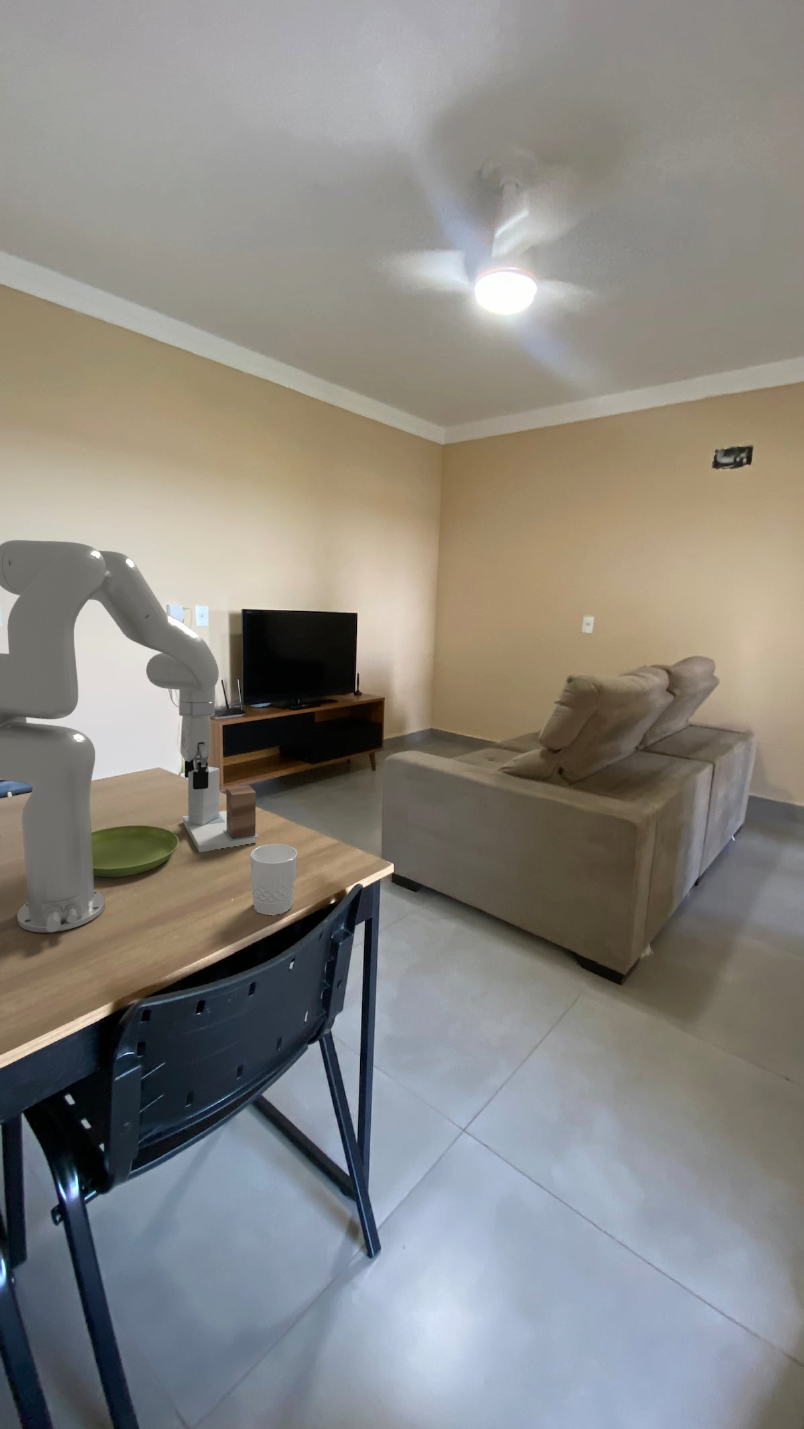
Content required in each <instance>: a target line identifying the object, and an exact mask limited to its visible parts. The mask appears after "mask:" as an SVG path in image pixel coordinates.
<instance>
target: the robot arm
mask: <svg viewBox="0 0 804 1429" xmlns="http://www.w3.org/2000/svg"><path fill="white" fill-rule="evenodd" d="M0 587H1V588H2V589H3V590H5V591H7V592H9V593H11V594H13V595H17V596H18V598H17V599H16V601H15V602H14V604H13V605H12V607H11V610H10V612H9V614H8V615H9V616H8V618H7V642H8V643H7V645H8V653H1V652H0V781H7V782H14V783H20V784H26V785H31V786H32V791H31V793H30V794H29V796H28V798H27V800H26V801H25V804H24V806H23V808H22V809H23V810H22V813H21V826H22V827H21V828H22V840H23V841H22V842H23V854H24V866H25V867H24V869H25V880H26V881H25V882H26V896H27V897H26V898H27V902H26V903H24V904H23V905H22V906H21V907H20V908H19V910H18V911H17V915H16V919H17V920H16V921H17V924H18V926H19V927H21V928H22V929H24V930H26V931H29V932H34V933H42V934H43V933H56V932H62V931H66V930H67V931H68V930H72V929H75V928H78V927H80V926H82V925H86V924H87V923H89V922H91V921H93V920H94V919H95V918H97V917H99V915H100V914H101V913H102V912H103V911H104V910H105V906H106V899H105V896H104V895H103V894H102V893H101V892H100V891H97V890H95V881H94V875H93V854H92V832H93V831H92V817H91V816H92V815H91V790H92V789H91V788H92V787H91V786H92V781H93V773H94V768H95V765H96V764H95V762H96V750H95V745H94V744H93V742H92V740H91V739H90V738H89V737H88V736H87V735H86V734H84V733H83V732H81V731H79V730H76V729H73V728H71V727H66V726H60V725H53V724H52V725H51V724H43V723H34V722H27V718H29V719H38V720H39V719H40V720H58V719H63V718H67V717H68V716H70V715H71V714H72V713H73V712H74V711H75V710H76V708H77V705H78V703H79V702H78V701H79V684H78V683H79V681H78V680H79V679H78V673H77V672H78V669H77V659H76V648H75V626H76V622H77V618H78V616H79V614H80V612H81V611H82V609H83V608H84V606H85V604H87V602H88V601H89V600H92V601H97V602H99V603H100V604H102V606H103V608H104V609H105V610H106V612H108V614H109V616H110V617H111V619H112V620H113V622H115V624H116V625H117V627H118V628H119V629H120V631H121V632H122V634H123V635H124V636H125V637H126V638H127V639H129V640H130V641H132V642H133V643H137V644H139V645H141V646H143V647H145V648H148V649H151V650H154V651H157V652H159V653H158V654H155V655H153V656H152V657H151V658H150V659H149V661H148V662H147V663H146V664H147V665H146V666H145V667H146V669H145V670H146V671H145V672H146V676H147V679H148V681H149V682H150V683H151V684H153V685H154V686H156V687H158V688H161V689H169V690H175V691H177V690H179V691H178V693H179V694H178V695H179V696H178V697H179V701H178V702H179V703H178V716H180V717H182V718H181V727H180V728H181V730H180V732H181V733H180V750H179V751H180V755H181V756H182V757H183V758H184V778H185V779H188V772H191V771H193V789H194V790H196V789H207V788H208V773H209V771H208V767H209V762H208V761H209V760H210V758H211V740H212V738H211V726H212V725H211V718H212V717H214V716H215V714H216V713H215V712H216V711H215V710H216V705H215V704H216V685H217V683H218V681H219V674H220V672H219V666H218V663H217V660H216V658H215V656H214V654H213V653H212V651H211V649H210V647H209V646H208V644H207V643H206V641H205V640H204V638H202V637H201V636H200V635H199V633H196V632H195V630H192V629H191V628H190V627H188V626H187V625H185V624H184V623H183V622H182V621H180V620H178V619H177V618H175V617H173V615H170V614H169V613H167V611H165V609H164V608H163V607H162V605H161V603H160V602H159V599H158V598H157V597H156V595H155V593H154V592H153V590H152V589H151V586H150V585H149V583H148V582H147V581H146V579H145V577H144V575H143V574H142V572H141V571H140V569H139V567H138V566H137V565H136V563H135V562H134V561H133V559H131V558H130V556H128V555H126V554H124V553H121V552H118V551H112V550H97V549H96V548H95V547H92V546H90V545H87V544H85V543H81V542H80V543H79V542H72V541H57V540H27V539H26V540H25V539H24V540H23V539H21V540H20V539H13V540H7V541H5V542H3V543H1V544H0ZM194 770H195V771H194Z"/></svg>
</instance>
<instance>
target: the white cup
mask: <svg viewBox="0 0 804 1429" xmlns="http://www.w3.org/2000/svg"><path fill="white" fill-rule="evenodd" d="M297 860H298V850H297V849H296V848H294V847H293V846H291V845H287V844H281V843H270V844H269V843H268V844H263V845H260V846H258V847H255V848H254V849H252V851H251V852H250V870H251V871H250V873H251V875H250V877H251V878H250V879H251V890H252V891H251V893H252V900H253V901H252V904H253V905H254V906H253V905H252V906H253V910H254V909H255V910H257V911H258V912H260V913H263V914H275V915H274V916H277V915H276V914H280V915H283V914H285V913H284V912H286V911H287V912H289V911H290V910H291V909H290V908H292V907H293V905H294V892H295V886H296V885H295V884H296V876H297ZM292 904H293V905H292ZM291 906H292V907H291ZM289 909H290V910H289ZM255 910H254V911H255ZM288 910H289V911H288ZM258 912H257V913H258ZM287 912H286V913H287ZM282 913H283V914H282ZM263 914H262V915H263Z"/></svg>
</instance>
